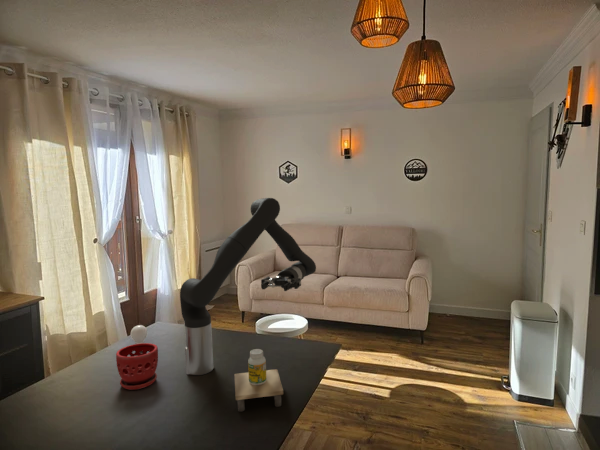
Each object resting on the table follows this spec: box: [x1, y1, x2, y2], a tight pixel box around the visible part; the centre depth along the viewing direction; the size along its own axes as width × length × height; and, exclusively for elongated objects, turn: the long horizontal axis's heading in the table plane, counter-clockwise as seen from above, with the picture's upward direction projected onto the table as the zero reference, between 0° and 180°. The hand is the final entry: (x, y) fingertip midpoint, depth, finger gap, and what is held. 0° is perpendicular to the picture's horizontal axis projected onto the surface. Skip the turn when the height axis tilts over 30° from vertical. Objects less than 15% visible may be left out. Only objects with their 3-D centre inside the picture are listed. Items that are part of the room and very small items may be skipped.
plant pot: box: [115, 342, 159, 391], centre depth 135 cm, size 13×13×12 cm
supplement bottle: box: [247, 348, 267, 385], centre depth 124 cm, size 6×6×10 cm
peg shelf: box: [234, 368, 284, 412], centre depth 124 cm, size 14×14×5 cm
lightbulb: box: [130, 324, 148, 353], centre depth 161 cm, size 6×6×11 cm
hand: (273, 287), depth 141 cm, fingers open, 8 cm apart
